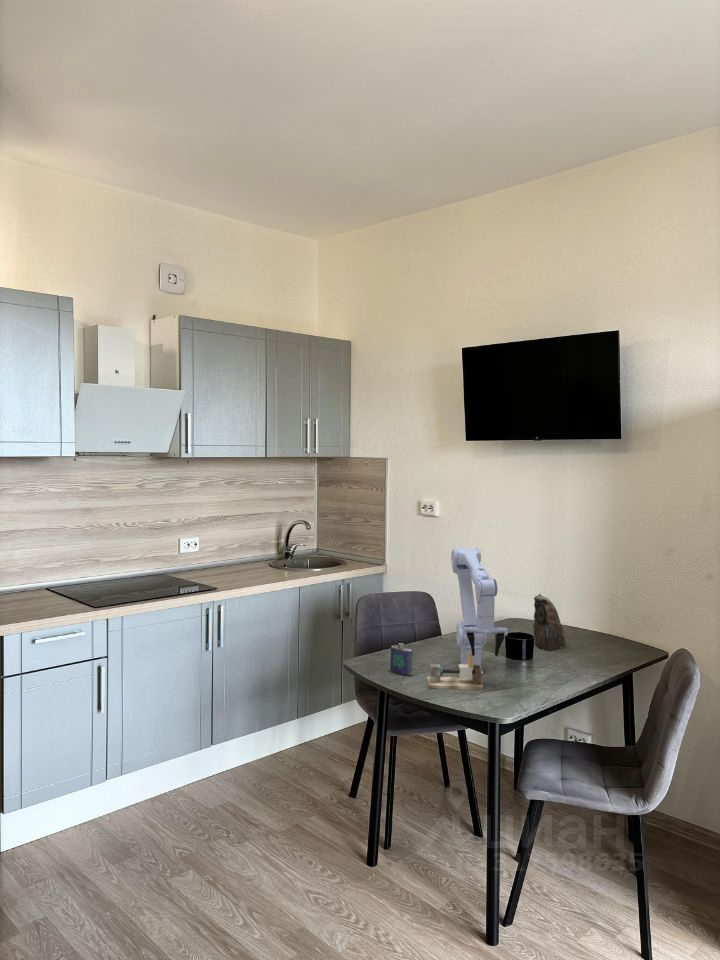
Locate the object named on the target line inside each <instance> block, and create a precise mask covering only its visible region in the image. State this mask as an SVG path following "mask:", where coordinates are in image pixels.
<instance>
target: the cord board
mask: <svg viewBox="0 0 720 960" xmlns="http://www.w3.org/2000/svg"><path fill="white" fill-rule="evenodd" d="M440 665H441V664H440V663H439V664H437V663H434V664H433V663H430V676H427V677H426V683H427V688H428V689H432V688H437V689H439V690H477V691H478V690H479V691H481V690H484V685H483V683H482V674H481V668H482V667H481V668H480V665H473V670H472V679H460V677H459V676H458V677H457V676H456V677H454V676H453V677H451V676H450V677H449V676H444V674H459V673H460V670H459V669H455V668H454V669H452V668H451V669H450V668H449V669H447V668H446V669H445V668H443V667H444V666H443V665H441V666H440ZM437 689H436V690H437Z"/></svg>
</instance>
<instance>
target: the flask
mask: <svg viewBox="0 0 720 960" xmlns="http://www.w3.org/2000/svg"><path fill="white" fill-rule="evenodd" d="M397 644H398V645H397ZM397 644H395V645H391V646H390V663H389V664H390V666H389V667H390V669H389V671H390V672H391V671H392V672H391V673H393V672H394V674H397V675H401V674H402V676H404V675H407V676H406V677H410V675H411V676H413V650H412V649H411V648H404V645H405V644H404V643H403V642H401V643H397Z"/></svg>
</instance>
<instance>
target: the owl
mask: <svg viewBox="0 0 720 960" xmlns="http://www.w3.org/2000/svg"><path fill="white" fill-rule="evenodd" d="M533 600H534V604H533V606H534V612H533V613H534V614H533V619H534V621H533V622H534V623H533V626H532V627H533V636H534V641H535V642H534V644H535V645H534V646H535V647H537V649H539V650H542V649H544V650H543V651H546V650H547V651H546V652H551V651H550V650H552V651H554V650H553V649H556V650H558V649H557V648H559V649H561V648H560V647H563V646H566V637H565V634H564V628H563V626H562V623H561V619H560V617H559V612H558V610H557V608H556V607H555V605H554V603H553V602H551V600H550V599H549V598H547V597H546V596H544V595H542V594H541V593H539V594H538V595H535V597H534V598H533ZM563 648H564V647H563Z"/></svg>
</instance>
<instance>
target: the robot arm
mask: <svg viewBox="0 0 720 960" xmlns="http://www.w3.org/2000/svg"><path fill="white" fill-rule="evenodd" d="M450 561H451V569H452V573H454V574H456V575H457V580H458V586H459V596H460V603H461V604H460V605H461V611H462V620H460V621H459V622H458V623H457V624H456V633H455V635H456V636H455V637H456V638H455V639H456V643H457V644H458V646H459V647H460V664H468V653H471V654H472V670H473V665H480V668H481V675H484V672H483V669H482V648H483V647H484V646H485V645H486V643H487V640H488V635H494V639H495V640H494V641H495V642H494V643H495V645H494V646H495V648H494V656H495V657H499V651H500V648H501V647H502V643H503V642H504V640H505V636H508V627H500V626H495V599H496V596H497V595H498V591H499V590H498V589H499V587H498V582H497V580H496V578H493V577H490V575H489V572H488V571H487V570H486V568H485V567H483V566H481V561H482V553H481V550H480V549H479V548H478V547H475V548H474V547H471V548H470V547H469V548H468V547H466V548H456V547H453V549H452V550H451V554H450ZM473 585H474V588H473ZM473 589H474V590H473ZM474 592H475V595H474ZM474 597H475V598H474ZM475 601H476V603H475ZM458 668H459V664H458Z"/></svg>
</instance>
